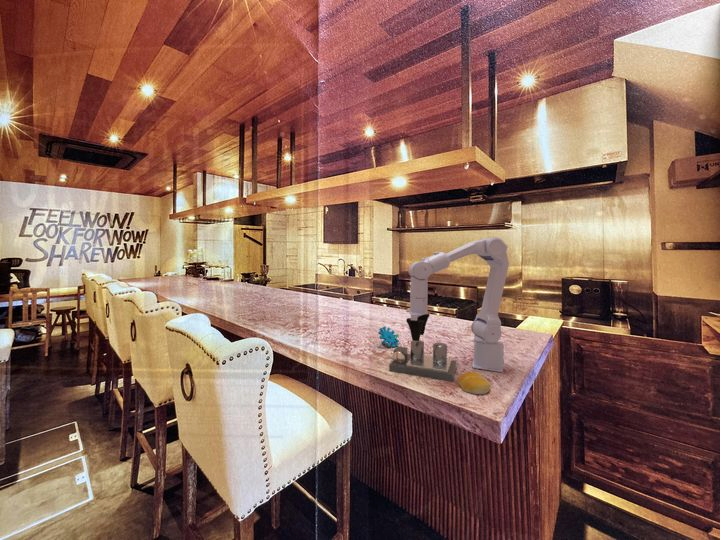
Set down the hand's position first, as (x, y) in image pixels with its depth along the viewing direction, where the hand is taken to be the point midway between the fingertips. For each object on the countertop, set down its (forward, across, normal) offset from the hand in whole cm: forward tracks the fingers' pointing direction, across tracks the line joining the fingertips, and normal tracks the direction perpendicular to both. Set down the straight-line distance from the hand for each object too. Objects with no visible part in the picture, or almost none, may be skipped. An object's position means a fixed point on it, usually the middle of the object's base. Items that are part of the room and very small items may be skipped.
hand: (418, 337), depth 98 cm
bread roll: (+11, +8, +18) cm, 22 cm away
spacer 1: (+8, 0, 0) cm, 8 cm away
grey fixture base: (+10, 0, +2) cm, 11 cm away
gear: (+11, -20, -16) cm, 28 cm away
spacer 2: (+8, 0, +7) cm, 11 cm away
